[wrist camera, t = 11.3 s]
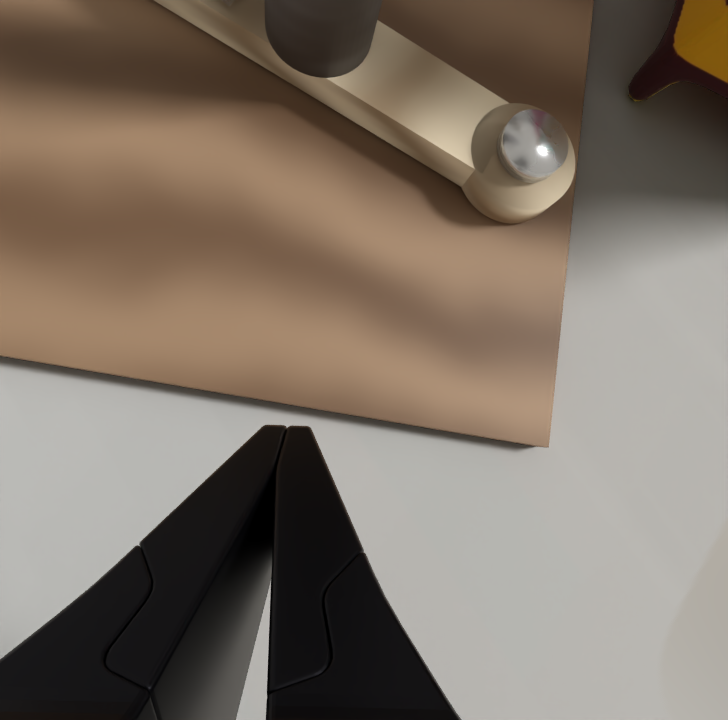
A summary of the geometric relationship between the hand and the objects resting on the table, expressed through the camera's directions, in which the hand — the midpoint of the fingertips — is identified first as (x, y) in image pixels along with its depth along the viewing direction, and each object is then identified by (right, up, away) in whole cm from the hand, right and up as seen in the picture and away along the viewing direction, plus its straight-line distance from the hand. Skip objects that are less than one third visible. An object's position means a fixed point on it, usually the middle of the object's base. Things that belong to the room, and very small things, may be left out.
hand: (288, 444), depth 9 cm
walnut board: (-2, +12, +14) cm, 18 cm away
